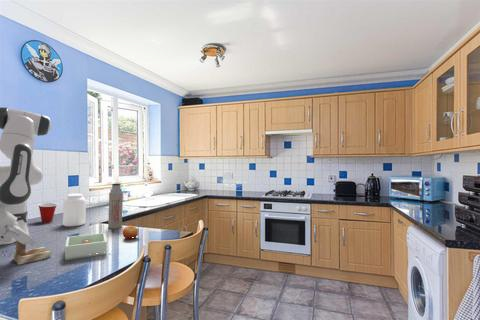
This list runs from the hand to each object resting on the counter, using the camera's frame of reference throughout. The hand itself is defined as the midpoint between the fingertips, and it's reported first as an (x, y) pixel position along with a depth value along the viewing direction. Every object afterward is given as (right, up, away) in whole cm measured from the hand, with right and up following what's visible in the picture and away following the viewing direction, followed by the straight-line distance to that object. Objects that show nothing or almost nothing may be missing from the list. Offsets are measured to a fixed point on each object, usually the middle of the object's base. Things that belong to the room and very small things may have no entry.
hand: (32, 242), depth 114 cm
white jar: (-19, -7, +58) cm, 62 cm away
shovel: (0, -7, 0) cm, 7 cm away
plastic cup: (-41, -6, +64) cm, 76 cm away
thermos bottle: (+10, -7, +55) cm, 56 cm away
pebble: (+17, -5, +14) cm, 22 cm away
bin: (+18, -7, +9) cm, 22 cm away
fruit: (+30, -8, +31) cm, 44 cm away
